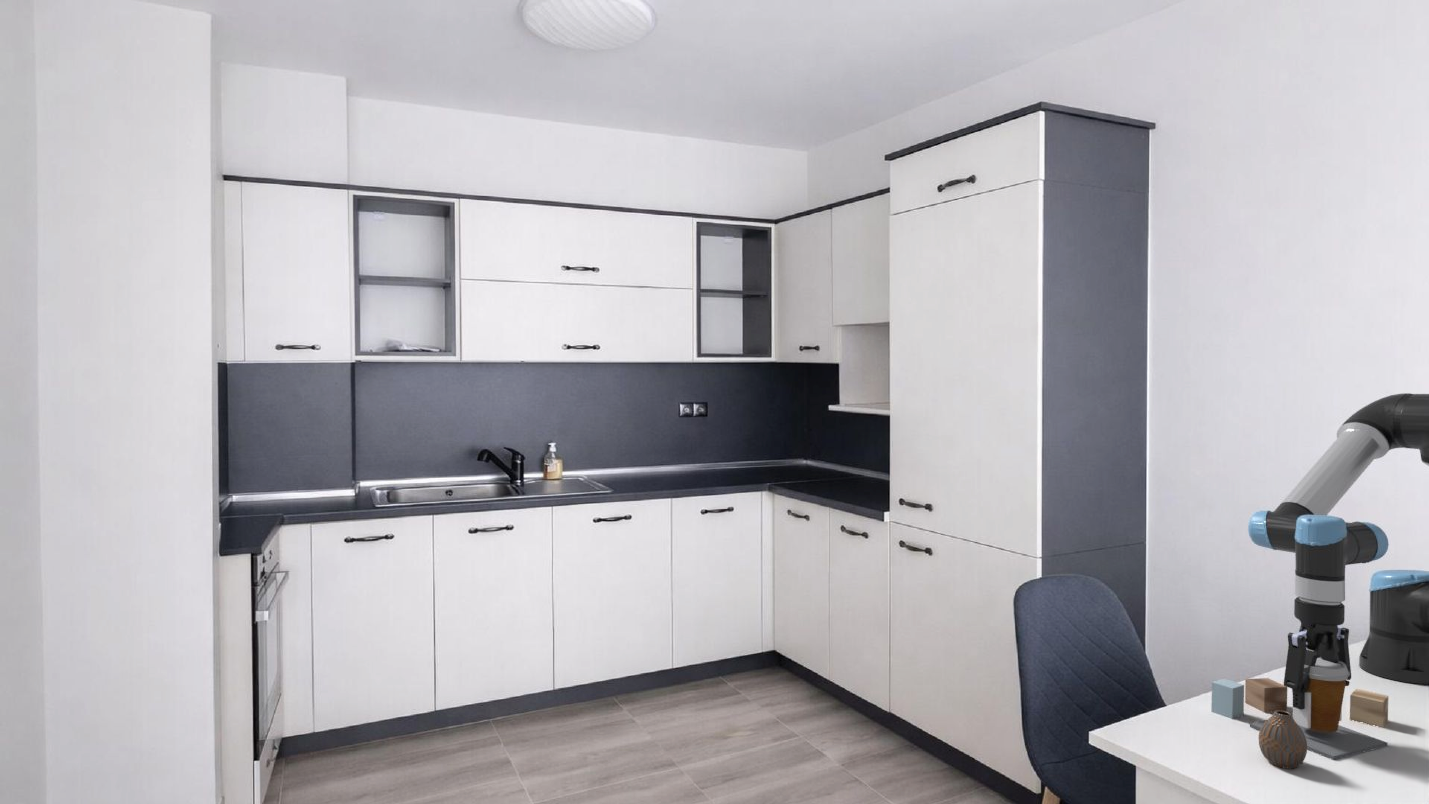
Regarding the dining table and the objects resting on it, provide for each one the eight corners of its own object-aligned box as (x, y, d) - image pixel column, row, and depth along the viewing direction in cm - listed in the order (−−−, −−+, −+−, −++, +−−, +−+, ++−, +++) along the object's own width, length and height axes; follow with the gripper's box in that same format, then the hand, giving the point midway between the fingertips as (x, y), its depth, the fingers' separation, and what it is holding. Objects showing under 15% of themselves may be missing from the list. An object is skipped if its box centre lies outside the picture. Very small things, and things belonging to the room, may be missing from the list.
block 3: (1355, 713, 165) (1356, 688, 165) (1387, 721, 162) (1388, 695, 162) (1349, 720, 162) (1350, 694, 162) (1382, 728, 158) (1382, 702, 158)
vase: (1316, 769, 141) (1317, 718, 141) (1285, 775, 139) (1286, 723, 139) (1278, 752, 148) (1279, 703, 148) (1248, 757, 146) (1249, 707, 146)
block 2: (1267, 702, 171) (1267, 678, 171) (1286, 711, 166) (1287, 686, 166) (1245, 703, 171) (1245, 679, 171) (1264, 712, 166) (1264, 687, 166)
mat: (1301, 715, 164) (1301, 712, 164) (1387, 745, 150) (1387, 742, 150) (1249, 726, 159) (1249, 723, 159) (1333, 759, 145) (1333, 756, 145)
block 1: (1243, 715, 165) (1222, 708, 168) (1244, 684, 164) (1223, 678, 168) (1232, 719, 163) (1211, 712, 166) (1232, 688, 162) (1211, 682, 166)
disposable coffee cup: (1335, 740, 148) (1337, 673, 148) (1276, 722, 156) (1277, 659, 156) (1357, 728, 153) (1359, 663, 153) (1299, 711, 161) (1300, 649, 161)
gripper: (1334, 589, 161) (1332, 706, 162) (1260, 600, 154) (1258, 722, 154) (1377, 599, 154) (1375, 720, 155) (1302, 610, 147) (1300, 738, 147)
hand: (1317, 721), depth 155 cm, fingers closed on disposable coffee cup, 8 cm apart
